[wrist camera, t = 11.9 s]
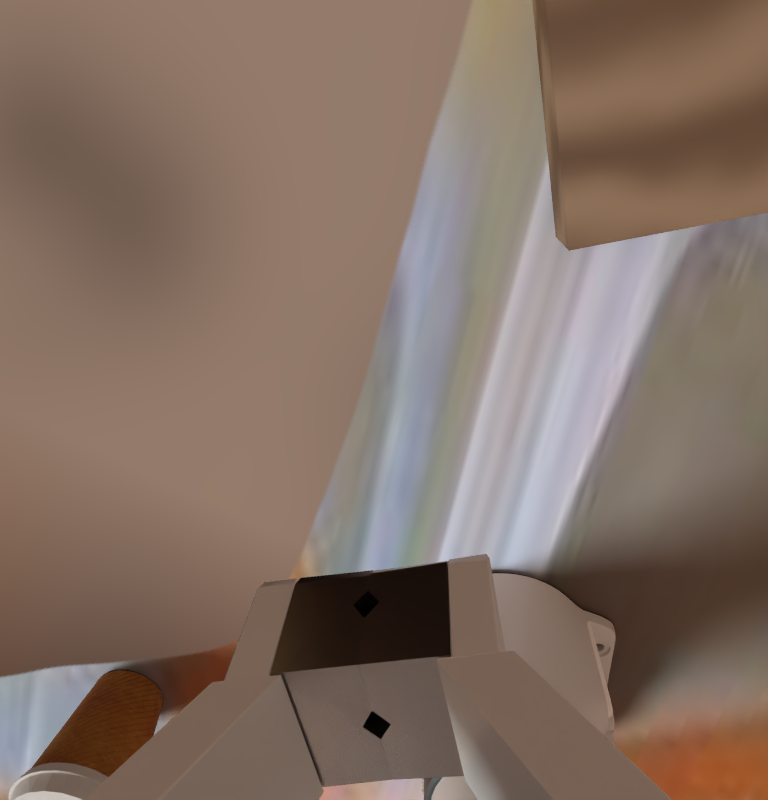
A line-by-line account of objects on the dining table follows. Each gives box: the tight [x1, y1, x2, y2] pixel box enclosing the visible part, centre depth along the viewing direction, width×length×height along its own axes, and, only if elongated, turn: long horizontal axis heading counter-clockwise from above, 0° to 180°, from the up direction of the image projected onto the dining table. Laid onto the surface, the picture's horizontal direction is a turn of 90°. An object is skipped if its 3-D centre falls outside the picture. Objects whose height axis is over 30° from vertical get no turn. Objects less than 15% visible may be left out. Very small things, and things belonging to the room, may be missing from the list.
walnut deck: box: [533, 0, 768, 250], centre depth 32 cm, size 22×12×4 cm, turn 12°
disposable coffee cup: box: [9, 670, 163, 800], centre depth 53 cm, size 10×10×12 cm
